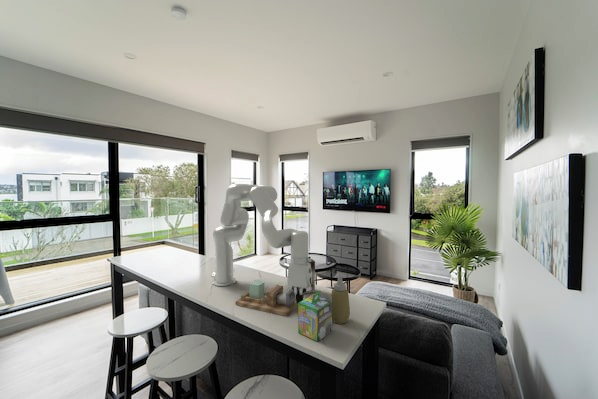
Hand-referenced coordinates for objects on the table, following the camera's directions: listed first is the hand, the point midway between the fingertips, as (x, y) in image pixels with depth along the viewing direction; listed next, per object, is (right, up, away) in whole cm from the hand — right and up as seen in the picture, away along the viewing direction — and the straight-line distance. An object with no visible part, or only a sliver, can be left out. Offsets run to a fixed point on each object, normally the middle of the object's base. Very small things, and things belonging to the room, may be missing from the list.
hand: (299, 302), depth 109 cm
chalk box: (+6, -4, -17) cm, 18 cm away
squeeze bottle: (+16, -4, -8) cm, 18 cm away
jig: (-14, -3, +6) cm, 15 cm away
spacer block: (-20, -1, +9) cm, 22 cm away
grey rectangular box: (-8, -1, +4) cm, 9 cm away
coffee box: (+3, -3, +21) cm, 21 cm away
